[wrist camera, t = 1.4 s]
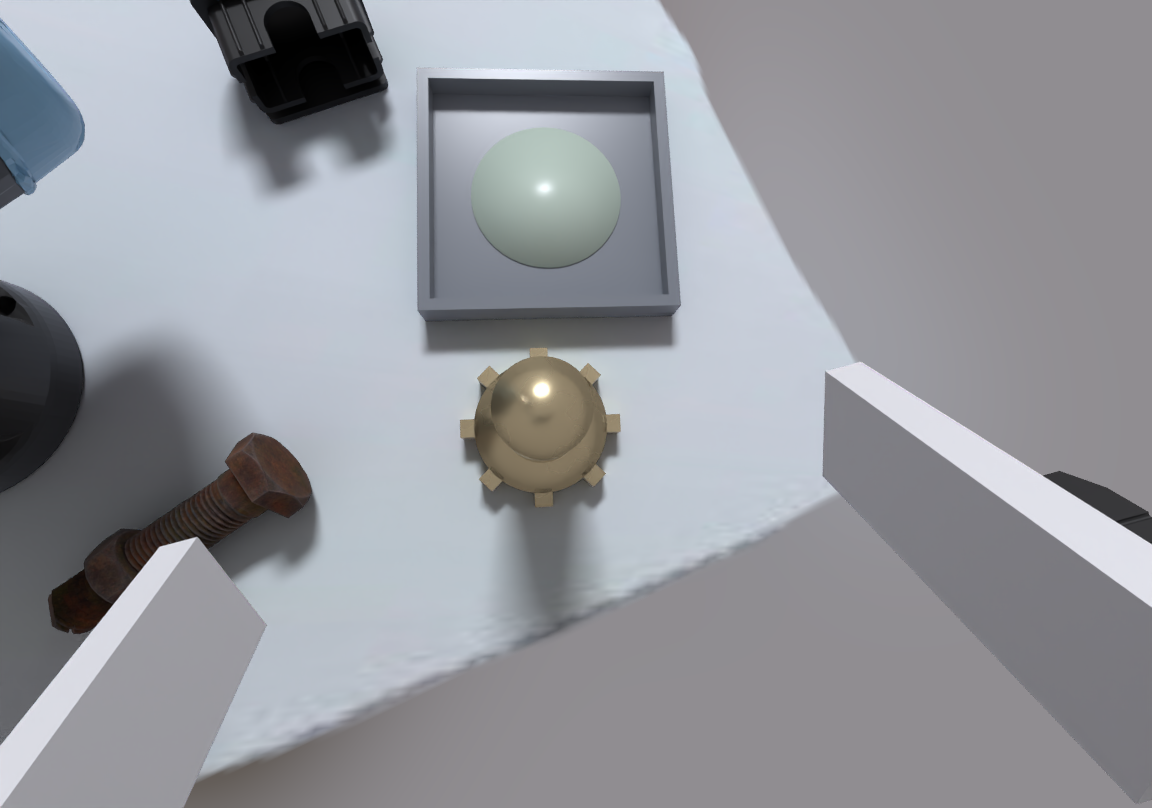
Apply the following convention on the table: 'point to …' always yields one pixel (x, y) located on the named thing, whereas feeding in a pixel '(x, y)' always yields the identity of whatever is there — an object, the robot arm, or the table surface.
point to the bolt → (184, 528)
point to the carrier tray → (544, 195)
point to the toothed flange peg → (540, 426)
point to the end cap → (297, 52)
